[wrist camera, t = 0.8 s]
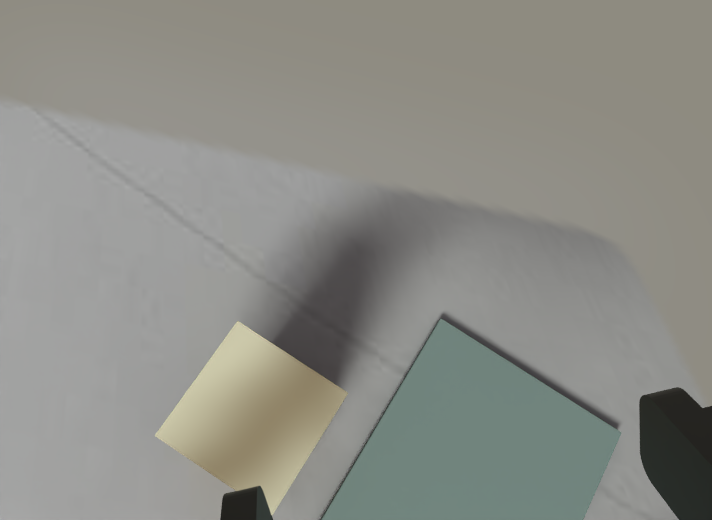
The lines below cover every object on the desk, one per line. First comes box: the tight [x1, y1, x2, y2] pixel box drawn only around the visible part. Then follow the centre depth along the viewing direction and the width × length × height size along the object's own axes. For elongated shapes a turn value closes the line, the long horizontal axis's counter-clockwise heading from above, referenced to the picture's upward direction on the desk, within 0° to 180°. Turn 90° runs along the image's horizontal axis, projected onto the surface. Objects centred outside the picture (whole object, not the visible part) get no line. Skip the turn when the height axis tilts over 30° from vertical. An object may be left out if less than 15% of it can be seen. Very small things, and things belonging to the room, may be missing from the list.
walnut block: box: [155, 321, 348, 515], centre depth 29 cm, size 5×5×12 cm
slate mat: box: [321, 319, 621, 520], centre depth 34 cm, size 12×18×1 cm, turn 148°
